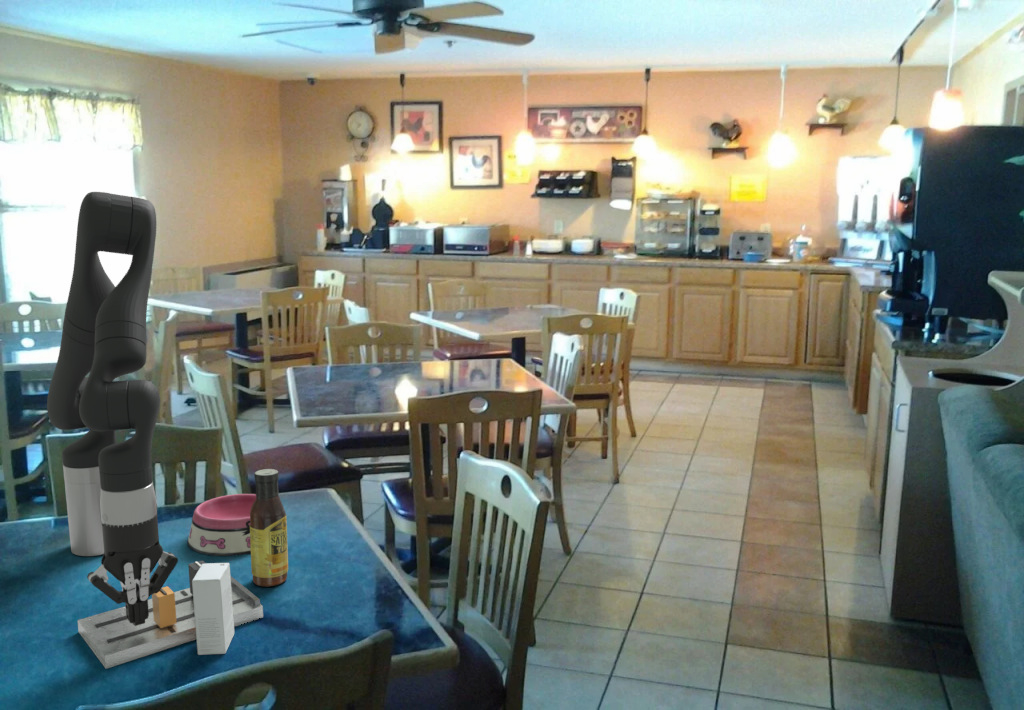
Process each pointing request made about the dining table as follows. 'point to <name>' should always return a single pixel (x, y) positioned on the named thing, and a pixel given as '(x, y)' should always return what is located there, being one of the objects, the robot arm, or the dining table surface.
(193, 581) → the skincare box
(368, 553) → the dining table surface
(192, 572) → the block
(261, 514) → the sauce bottle
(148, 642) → the console
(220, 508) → the dog bowl
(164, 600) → the fader orange
